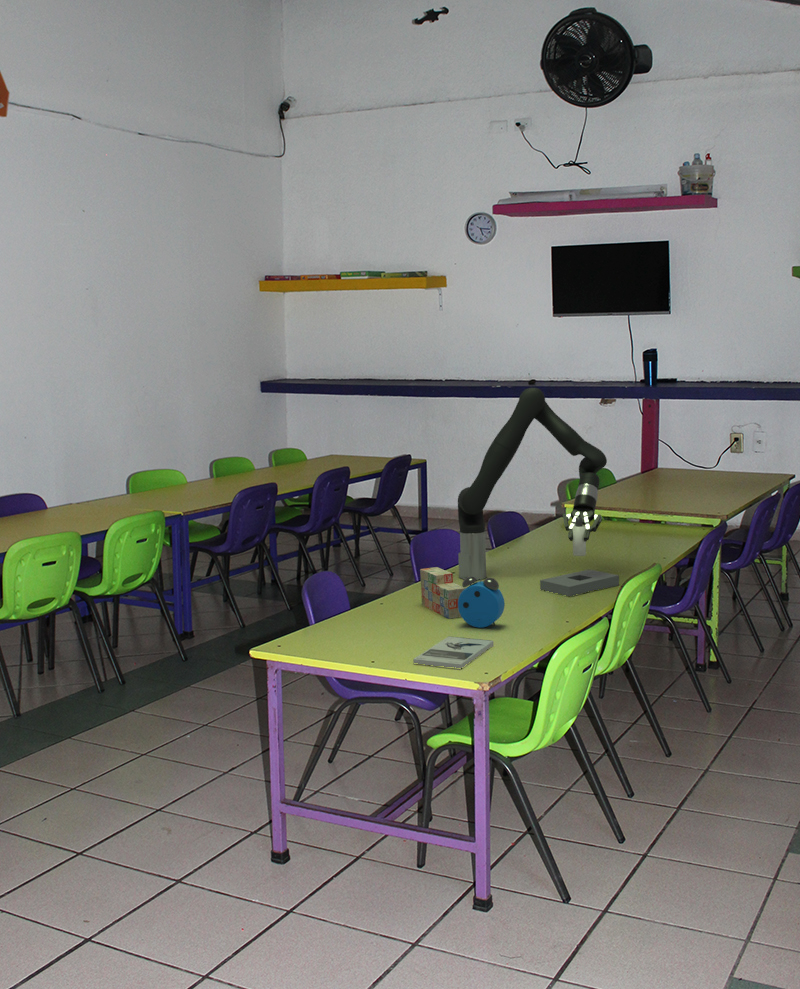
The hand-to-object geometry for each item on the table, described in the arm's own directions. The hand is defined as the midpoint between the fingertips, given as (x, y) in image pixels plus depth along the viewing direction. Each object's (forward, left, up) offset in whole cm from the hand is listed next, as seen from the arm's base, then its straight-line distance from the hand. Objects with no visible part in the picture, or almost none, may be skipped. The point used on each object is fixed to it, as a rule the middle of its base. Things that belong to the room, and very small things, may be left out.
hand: (577, 539), depth 338 cm
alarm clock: (-55, -13, -17) cm, 59 cm away
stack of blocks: (-52, +10, -17) cm, 55 cm away
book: (-79, -30, -18) cm, 86 cm away
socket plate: (+1, +1, -17) cm, 17 cm away
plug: (+2, +1, -6) cm, 6 cm away
